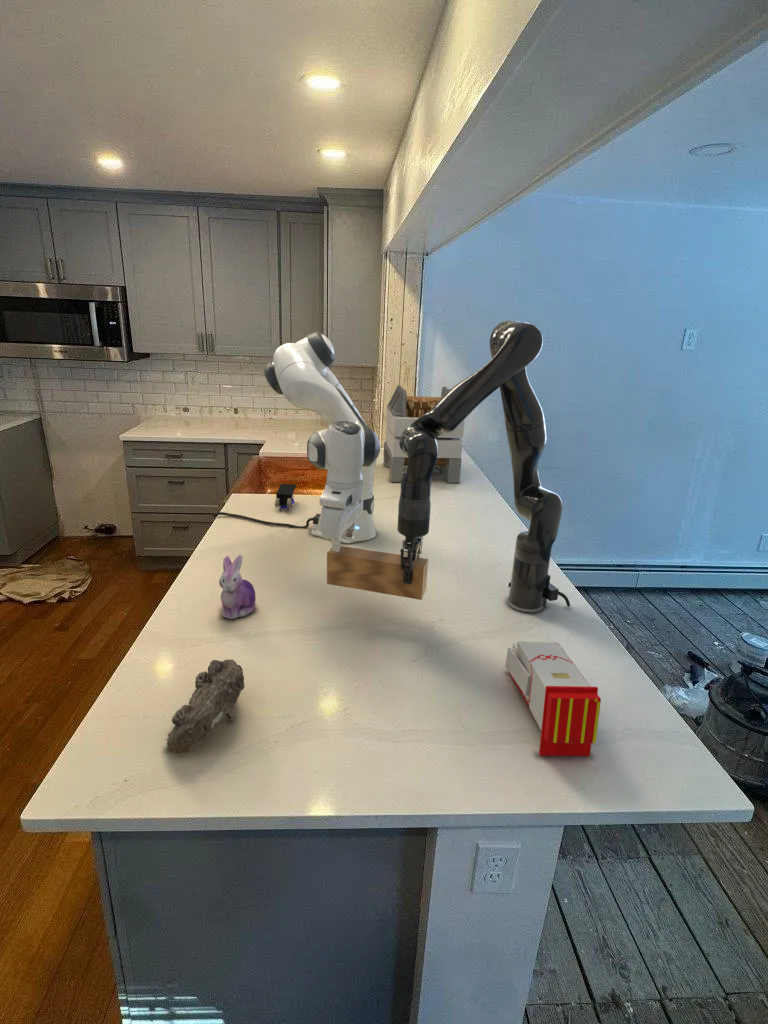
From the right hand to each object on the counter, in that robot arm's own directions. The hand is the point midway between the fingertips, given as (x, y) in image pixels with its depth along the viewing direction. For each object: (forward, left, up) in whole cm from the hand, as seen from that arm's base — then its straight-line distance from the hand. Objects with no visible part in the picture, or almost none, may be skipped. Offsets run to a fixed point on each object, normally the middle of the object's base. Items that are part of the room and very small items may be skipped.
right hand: (410, 577), depth 139 cm
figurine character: (+13, -93, -13) cm, 95 cm away
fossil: (+49, +21, -13) cm, 55 cm away
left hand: (+14, -10, +7) cm, 19 cm away
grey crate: (-58, -127, -13) cm, 141 cm away
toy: (-14, +38, -13) cm, 42 cm away
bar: (+7, -5, -4) cm, 10 cm away
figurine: (+40, -17, -13) cm, 45 cm away
